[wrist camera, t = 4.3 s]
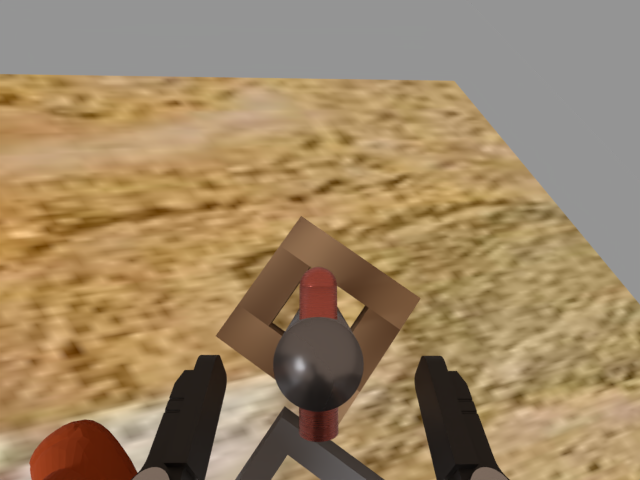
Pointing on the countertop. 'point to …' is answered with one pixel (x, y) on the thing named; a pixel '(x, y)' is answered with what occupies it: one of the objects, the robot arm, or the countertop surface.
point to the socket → (301, 455)
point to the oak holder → (351, 275)
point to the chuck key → (318, 358)
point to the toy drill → (81, 455)
